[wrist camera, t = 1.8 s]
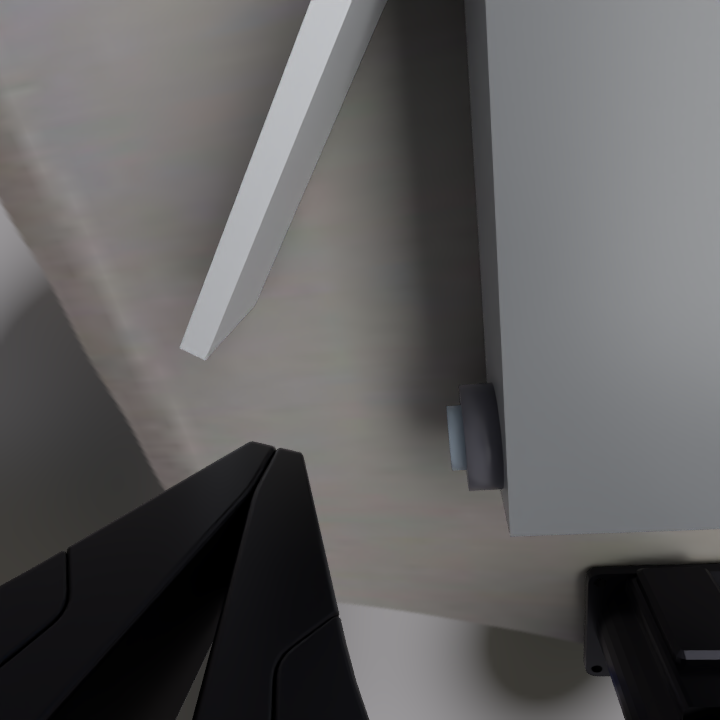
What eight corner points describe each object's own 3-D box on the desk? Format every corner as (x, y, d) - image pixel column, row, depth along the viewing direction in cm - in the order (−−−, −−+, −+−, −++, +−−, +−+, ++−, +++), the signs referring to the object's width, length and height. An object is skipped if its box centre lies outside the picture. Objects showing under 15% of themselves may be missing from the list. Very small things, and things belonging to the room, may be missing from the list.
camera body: (763, 422, 20) (899, 543, 14) (450, 442, 22) (459, 557, 16) (876, -221, 13) (1234, -490, 7) (398, -110, 15) (381, -253, 9)
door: (257, 306, 20) (208, 362, 15) (229, 292, 20) (171, 344, 15) (449, -134, 14) (461, -252, 10) (411, -158, 14) (405, -289, 9)
